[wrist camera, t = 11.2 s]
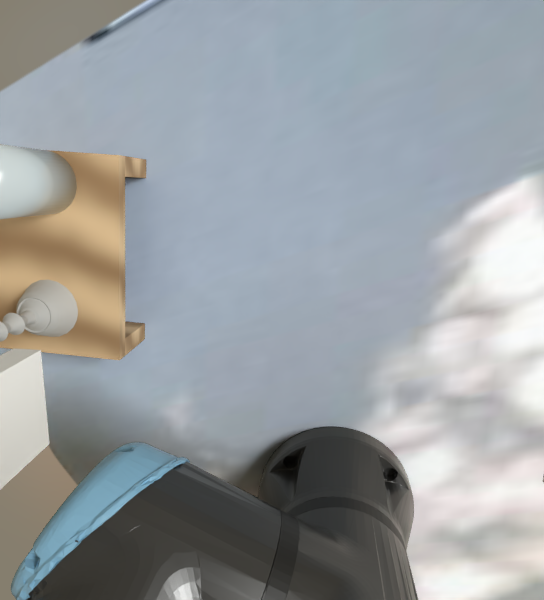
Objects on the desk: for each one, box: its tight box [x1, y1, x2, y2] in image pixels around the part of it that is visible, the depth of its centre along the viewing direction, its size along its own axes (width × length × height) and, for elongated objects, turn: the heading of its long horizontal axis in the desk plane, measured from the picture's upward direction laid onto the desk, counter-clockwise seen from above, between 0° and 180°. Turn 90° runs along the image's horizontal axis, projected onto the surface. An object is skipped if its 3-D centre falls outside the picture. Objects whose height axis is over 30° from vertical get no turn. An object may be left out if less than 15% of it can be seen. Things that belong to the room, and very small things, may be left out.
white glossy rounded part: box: [0, 144, 77, 219], centre depth 34 cm, size 5×5×9 cm
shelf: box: [0, 150, 146, 360], centre depth 43 cm, size 17×12×6 cm
